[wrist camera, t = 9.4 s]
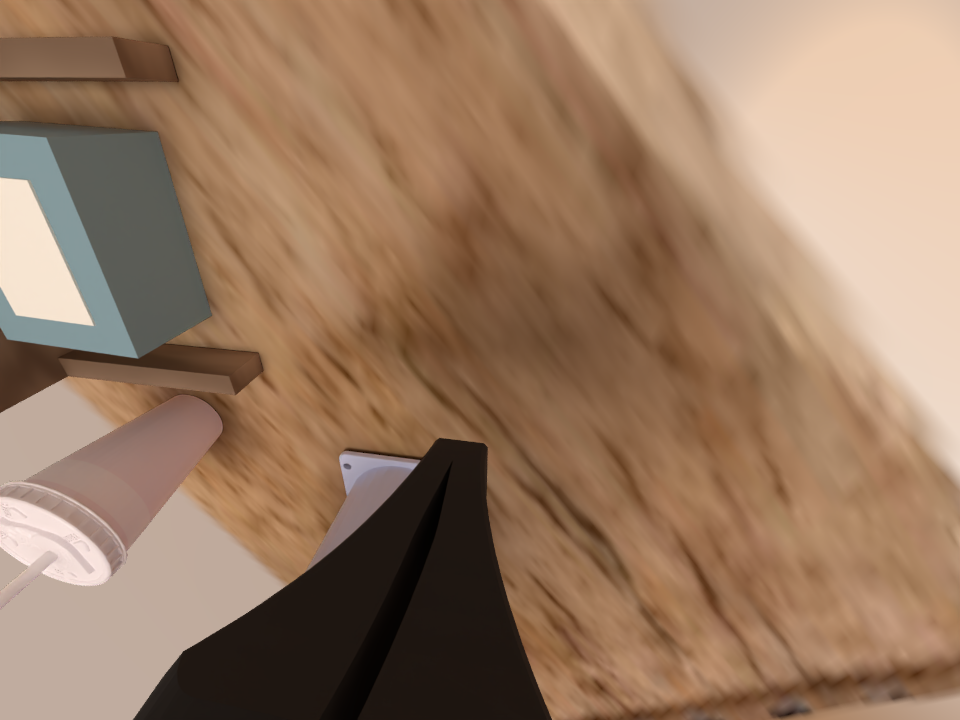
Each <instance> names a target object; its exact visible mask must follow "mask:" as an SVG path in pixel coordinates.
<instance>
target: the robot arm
mask: <svg viewBox="0 0 960 720" xmlns="http://www.w3.org/2000/svg"><path fill="white" fill-rule="evenodd" d="M487 455H488V447H487V446H486V445H485V444H484V443H476V442H468V441H460V440H452V439H443V438H439V439H438V440H436V441H435V443H434V444H433V445H432V447H431V448H430V449H429V451H428V452H427V453H426V455H425V456H424V457H423V458H422V460H415V459H407V458H399V457H391V456H383V455H376V454H368V453H360V452H352V451H344V452H342V453H341V455H340V456H339V461H340V466H341V470H342V475H343V480H344V484H345V489H346V494H347V498H346V499H345V501H344V503H343V505H342V507H341V508H340V510H339V512H338V514H337V516H336V517H335V519H334V521H333V523H332V525H331V526H330V528H329V530H328V532H327V534H326V535H325V537H324V539H323V541H322V543H321V544H320V546H319V548H318V550H317V552H316V554H315V555H314V557H313V559H312V561H311V563H310V564H309V566H308V568H307V570H306V572H305V573H304V574H302V575H301V576H300V577H298V578H297V579H296V580H294V581H293V582H292V583H290V584H289V585H287V586H286V587H284V588H283V589H281V590H280V591H279V592H277V593H276V594H274V595H273V596H271V597H270V598H268V599H267V600H266V601H264V602H263V603H262V604H260V605H258V606H257V607H255V608H254V609H252V610H251V611H249V612H248V613H246V614H245V615H243V616H242V617H240V618H238V619H237V620H235V621H233V622H232V623H230V624H228V625H227V626H225V627H223V628H222V629H220V630H219V631H217V632H215V633H214V634H212V635H210V636H209V637H207V638H205V639H204V640H202V641H201V642H199V643H197V644H195V645H194V646H192V647H190V648H188V649H187V650H185V651H183V653H182V654H181V655H180V656H179V658H178V659H177V660H176V662H175V663H174V664H173V665H172V667H171V668H170V669H169V670H168V671H167V672H166V674H165V675H164V677H163V678H162V679H161V681H160V682H159V684H158V685H157V686H156V688H155V689H154V691H153V692H152V693H151V695H150V696H149V698H148V699H147V701H146V702H145V704H144V705H143V706H142V708H141V709H140V711H139V712H138V714H137V715H136V716H135V718H134V719H133V720H552V719H551V716H550V714H549V711H548V709H547V707H546V704H545V702H544V699H543V697H542V694H541V692H540V689H539V687H538V684H537V682H536V679H535V677H534V674H533V672H532V669H531V666H530V664H529V661H528V658H527V655H526V653H525V650H524V647H523V645H522V642H521V639H520V635H519V632H518V629H517V626H516V623H515V620H514V617H513V614H512V611H511V608H510V605H509V602H508V599H507V595H506V591H505V588H504V584H503V581H502V577H501V573H500V569H499V565H498V561H497V557H496V553H495V548H494V543H493V538H492V533H491V528H490V522H489V516H488V508H487V500H486V494H487Z"/></svg>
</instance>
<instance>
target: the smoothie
mask: <svg viewBox="0 0 960 720" xmlns="http://www.w3.org/2000/svg"><path fill="white" fill-rule="evenodd" d="M222 430H223V424H222V421H221V418H220V417H219V415H218V413H217V412H216V411H215V410H214V409H213V408H212V407H211V406H210V405H209V404H208V403H206V402H205V401H203V400H201V399H199V398H197V397H195V396H191V395H185V394H182V395H177V396H175V397H173V398H171V399H169V400H168V401H166V402H164V403H162V404H160V405H159V406H157V407H155V408H153V409H151V410H150V411H148V412H146V413H144V414H142V415H141V416H139V417H137V418H135V419H134V420H132V421H130V422H128V423H126V424H125V425H123V426H121V427H119V428H117V429H116V430H114V431H112V432H110V433H109V434H107V435H105V436H103V437H101V438H99V439H98V440H96V441H94V442H92V443H91V444H89V445H87V446H85V447H83V448H82V449H80V450H78V451H76V452H74V453H73V454H71V455H69V456H67V457H65V458H64V459H62V460H60V461H58V462H56V463H54V464H52V465H51V466H49V467H47V468H46V469H44V470H42V471H40V472H39V473H37V474H35V475H33V476H32V477H30V478H28V479H26V480H25V481H11V482H7V483H5V484H3V485H1V486H0V547H1V548H2V549H4V550H5V551H6V552H8V553H9V554H10V555H11V556H13V557H14V558H16V559H17V560H19V561H20V562H22V563H23V564H25V565H27V566H29V567H28V568H27V569H26V570H24V571H23V572H22V573H21V574H20V575H19V576H17V577H16V578H15V579H14V580H13V581H11V582H10V583H9V584H8V585H7V586H6V587H4V588H3V589H2V590H1V591H0V609H1V608H2V607H3V606H4V605H6V604H7V603H8V602H9V601H10V600H11V599H12V598H14V597H15V596H16V595H17V594H18V593H19V592H20V591H21V590H23V589H24V588H25V587H26V586H27V585H28V584H29V583H30V582H31V581H33V580H34V579H35V578H36V577H37V576H38V575H39V574H40V573H42V574H44V575H46V576H49V577H52V578H54V579H57V580H60V581H63V582H66V583H70V584H76V585H83V586H94V585H100V584H103V583H105V582H106V581H107V580H108V579H109V578H110V577H111V576H112V575H113V574H114V573H115V572H116V571H117V570H118V569H120V568H121V567H122V566H123V565H124V564H125V563H126V560H127V550H128V549H129V548H130V547H131V545H132V544H133V543H134V542H135V541H136V539H137V538H138V537H139V536H140V535H141V533H142V532H143V531H144V530H145V529H146V527H147V526H148V525H149V523H150V522H151V520H152V519H153V518H154V517H155V516H156V514H157V513H158V512H159V511H160V509H161V508H162V507H163V506H164V504H165V503H166V502H167V501H168V499H169V498H170V497H171V496H172V494H173V493H174V492H175V491H176V489H177V488H178V487H179V486H180V484H181V483H182V482H183V481H184V479H185V478H186V477H187V476H188V474H189V473H190V472H191V471H192V470H193V468H194V467H195V466H196V465H197V463H198V462H199V461H200V460H201V458H202V457H203V456H204V455H205V453H206V452H207V451H208V450H209V448H210V447H211V446H212V445H213V443H214V442H215V441H216V440H217V438H218V437H219V436H220V435H221V433H222Z"/></svg>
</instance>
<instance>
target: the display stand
mask: <svg viewBox="0 0 960 720" xmlns="http://www.w3.org/2000/svg"><path fill="white" fill-rule="evenodd" d="M0 81H164V82H178V79H177V75H176V72H175V69H174V65H173V62H172V58H171V55H170V52H169V48H168V46H166V45H159V44H153V43H147V42H141V41H135V40H129V39H123V38H117V37H47V38H0ZM261 372H263V368H262V364H261V361H260V358H259V354H258V353H253V352H243V351H232V350H222V349H212V348H202V347H191V346H181V345H171V344H162V345H161V346H159V347H157V348H156V349H154V350H152V351H150V352H149V353H147V354H145V355H144V356H142V357H140V358H139V359H138V358H131V357H125V356H118V355H111V354H104V353H97V352H90V351H83V350H77V349H70V348H63V347H56V346H49V345H42V344H36V343H29V342H22V341H15V340H8V339H7V338H6V337H5V335H4V333H3V331H2V330H1V328H0V413H1V412H3V411H4V410H6V409H8V408H10V407H12V406H13V405H16V404H17V403H19V402H21V401H23V400H25V399H27V398H28V397H30V396H32V395H34V394H36V393H38V392H40V391H41V390H43V389H45V388H47V387H49V386H51V385H52V384H54V383H56V382H58V381H60V380H62V379H64V378H66V377H67V376H71V377H80V378H89V379H97V380H106V381H115V382H124V383H133V384H142V385H150V386H159V387H168V388H177V389H186V390H195V391H203V392H212V393H221V394H230V395H236V394H237V393H239V392H240V391H241V390H242V389H243V388H244V387H245V386H247V385H248V384H249V383H250V382H251V381H252V380H253V379H255V378H256V377H257V376H258V375H259V374H260V373H261Z"/></svg>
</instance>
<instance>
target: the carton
mask: <svg viewBox="0 0 960 720" xmlns="http://www.w3.org/2000/svg"><path fill="white" fill-rule="evenodd" d="M210 316H212V314H211V311H210V307H209V304H208V301H207V297H206V294H205V290H204V287H203V284H202V280H201V277H200V274H199V270H198V267H197V263H196V260H195V257H194V253H193V250H192V247H191V243H190V240H189V236H188V233H187V230H186V226H185V223H184V220H183V216H182V213H181V209H180V206H179V203H178V199H177V196H176V193H175V189H174V186H173V182H172V179H171V176H170V172H169V169H168V166H167V162H166V159H165V155H164V152H163V149H162V145H161V142H160V139H159V135H158V132H154V131H141V130H129V129H116V128H103V127H91V126H78V125H65V124H53V123H40V122H27V121H0V328H1V330H2V331H3V333H4V335H5V337H6V338H7V339H8V340H15V341H22V342H29V343H36V344H42V345H49V346H56V347H63V348H70V349H77V350H83V351H90V352H97V353H104V354H111V355H118V356H125V357H131V358H138V359H139V358H140V357H142V356H144V355H145V354H147V353H149V352H150V351H152V350H154V349H156V348H157V347H159V346H161V345H162V344H164V343H166V342H168V341H169V340H171V339H173V338H174V337H176V336H178V335H180V334H181V333H183V332H185V331H186V330H188V329H190V328H191V327H193V326H195V325H197V324H198V323H200V322H202V321H203V320H205V319H207V318H209V317H210Z"/></svg>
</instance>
